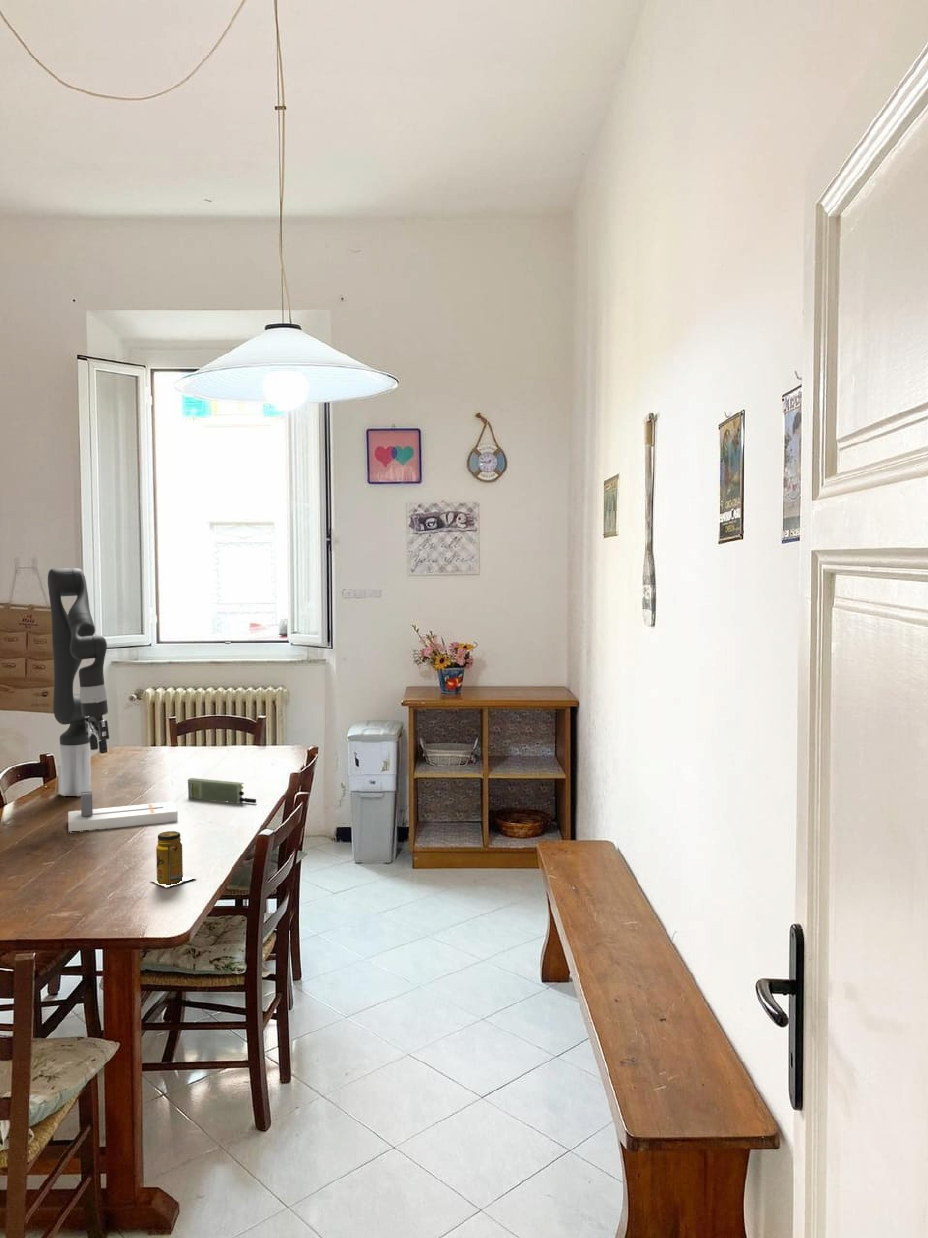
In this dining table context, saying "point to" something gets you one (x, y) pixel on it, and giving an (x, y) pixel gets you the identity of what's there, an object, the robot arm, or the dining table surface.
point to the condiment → (169, 858)
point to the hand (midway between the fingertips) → (98, 751)
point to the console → (123, 816)
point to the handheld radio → (216, 790)
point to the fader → (86, 803)
